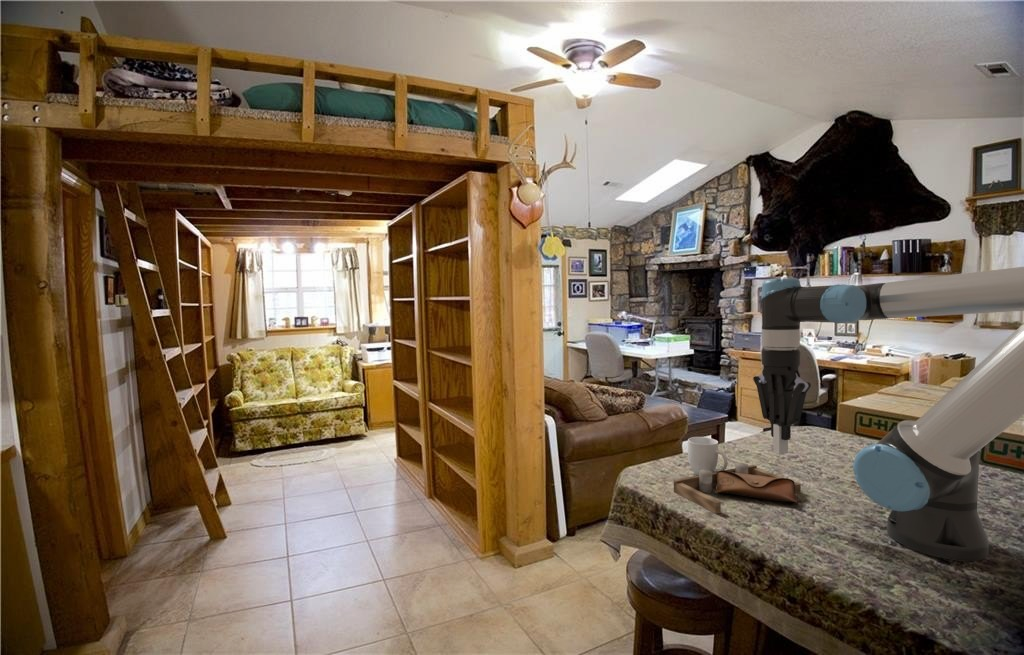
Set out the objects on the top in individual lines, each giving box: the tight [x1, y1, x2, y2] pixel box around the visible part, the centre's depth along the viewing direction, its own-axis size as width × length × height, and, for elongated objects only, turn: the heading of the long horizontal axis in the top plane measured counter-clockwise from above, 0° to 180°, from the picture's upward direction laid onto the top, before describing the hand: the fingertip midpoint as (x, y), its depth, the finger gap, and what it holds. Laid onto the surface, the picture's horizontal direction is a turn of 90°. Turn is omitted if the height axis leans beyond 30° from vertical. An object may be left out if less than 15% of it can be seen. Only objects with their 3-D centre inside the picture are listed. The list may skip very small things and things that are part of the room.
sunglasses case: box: [715, 470, 798, 503], centre depth 120 cm, size 18×7×7 cm
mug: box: [687, 436, 728, 476], centre depth 134 cm, size 11×8×9 cm
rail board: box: [673, 462, 802, 514], centre depth 122 cm, size 14×27×5 cm, turn 112°
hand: (780, 452), depth 110 cm, fingers closed
